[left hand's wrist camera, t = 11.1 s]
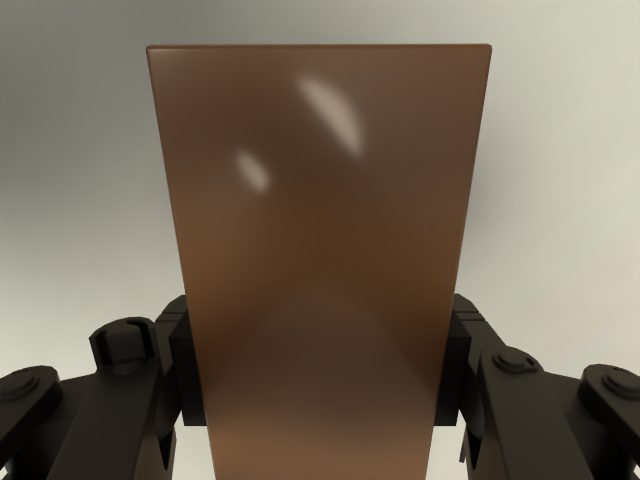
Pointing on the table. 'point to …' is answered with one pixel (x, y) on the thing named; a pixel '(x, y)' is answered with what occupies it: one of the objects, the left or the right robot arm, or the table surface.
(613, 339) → the table surface
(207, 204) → the post
